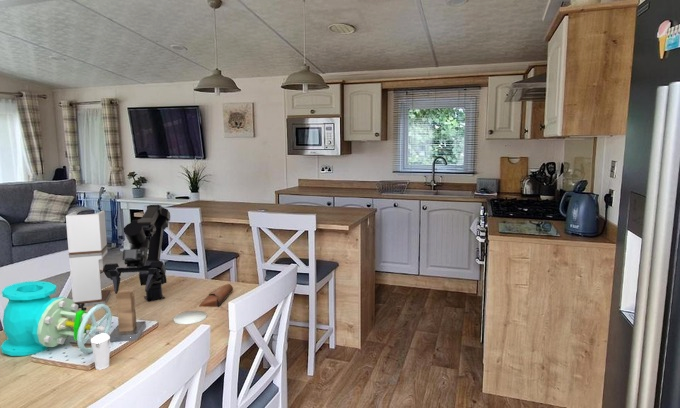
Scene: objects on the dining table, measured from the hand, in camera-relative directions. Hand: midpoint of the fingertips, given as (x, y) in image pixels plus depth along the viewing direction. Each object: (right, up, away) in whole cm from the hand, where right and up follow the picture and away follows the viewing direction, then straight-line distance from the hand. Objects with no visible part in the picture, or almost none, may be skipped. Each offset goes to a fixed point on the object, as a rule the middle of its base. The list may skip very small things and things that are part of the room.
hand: (130, 292), depth 136 cm
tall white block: (-28, -9, +26) cm, 40 cm away
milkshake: (+4, -15, -24) cm, 29 cm away
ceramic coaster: (+16, -11, +9) cm, 22 cm away
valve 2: (-27, -12, +8) cm, 30 cm away
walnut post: (+1, -11, -4) cm, 11 cm away
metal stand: (+1, -13, -4) cm, 13 cm away
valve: (-15, -14, -13) cm, 25 cm away
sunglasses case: (+20, -9, +29) cm, 36 cm away
